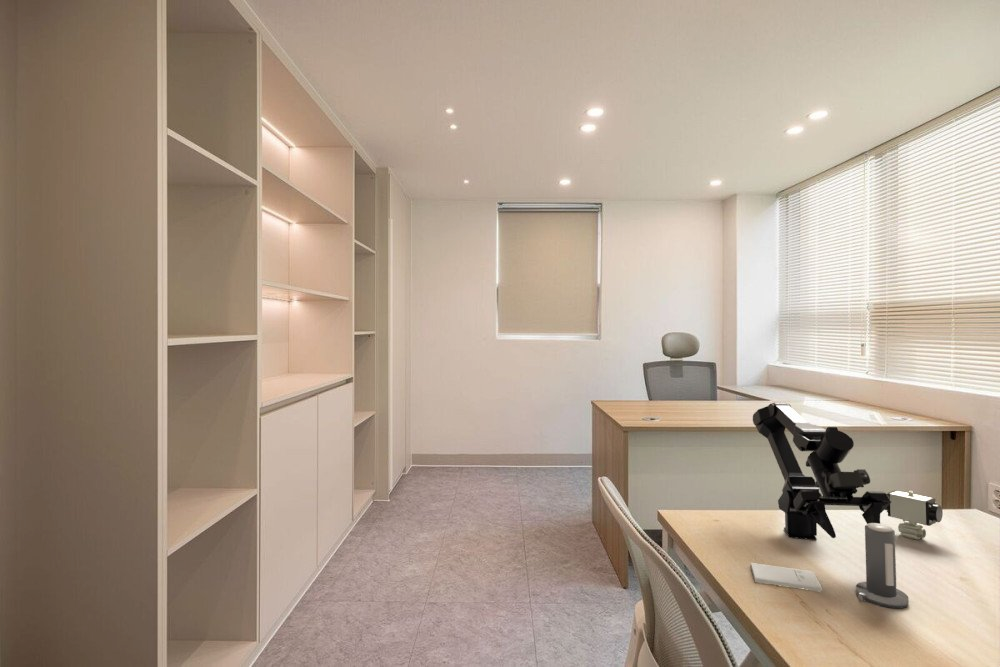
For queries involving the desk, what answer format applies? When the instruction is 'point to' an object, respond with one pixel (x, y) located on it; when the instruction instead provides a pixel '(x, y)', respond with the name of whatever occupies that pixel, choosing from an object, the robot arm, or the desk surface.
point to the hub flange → (888, 602)
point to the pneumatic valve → (913, 512)
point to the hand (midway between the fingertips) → (856, 538)
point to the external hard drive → (785, 576)
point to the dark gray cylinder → (880, 560)
